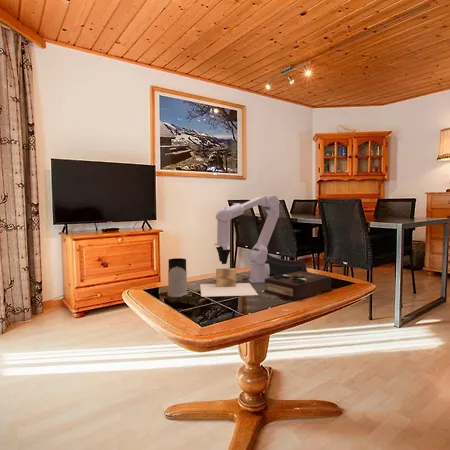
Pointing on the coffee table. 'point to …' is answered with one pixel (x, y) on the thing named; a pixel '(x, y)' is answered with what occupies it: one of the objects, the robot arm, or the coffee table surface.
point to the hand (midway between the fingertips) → (223, 262)
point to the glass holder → (177, 277)
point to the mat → (227, 290)
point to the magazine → (284, 266)
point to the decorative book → (297, 285)
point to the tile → (226, 277)
